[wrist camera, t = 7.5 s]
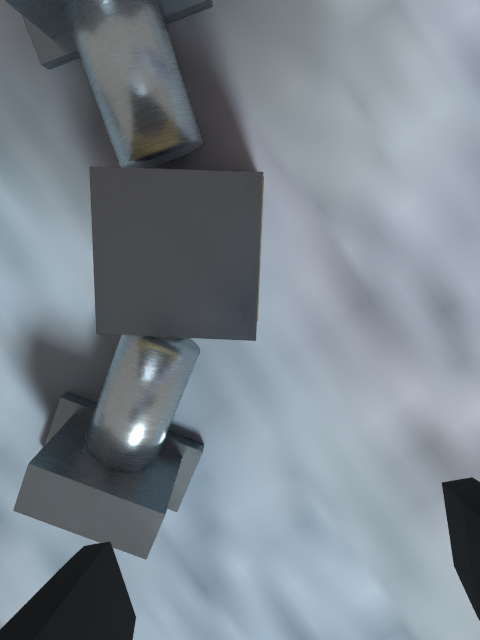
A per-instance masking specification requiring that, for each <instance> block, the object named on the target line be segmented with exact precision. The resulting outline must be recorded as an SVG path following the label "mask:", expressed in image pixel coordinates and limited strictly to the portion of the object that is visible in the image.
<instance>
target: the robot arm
mask: <svg viewBox="0 0 480 640" xmlns="http://www.w3.org/2000/svg"><path fill="white" fill-rule="evenodd" d="M442 487H443V494H444V501H445V508H446V515H447V521H448V528H449V535H450V542H451V549H452V555H453V562H454V567H455V569H456V571H457V574H458V576H459V578H460V580H461V582H462V585H463V587H464V589H465V591H466V593H467V596H468V598H469V600H470V602H471V604H472V606H473V608H474V610H475V612H476V615H477V617H478V619H479V620H480V482H479V481H477V480H476V479H474V478H472V477H471V478H466V479H460V480H454V481H449V482H443V483H442ZM135 620H136V616H135V613H134V610H133V607H132V604H131V601H130V598H129V595H128V592H127V589H126V586H125V583H124V580H123V577H122V574H121V571H120V568H119V565H118V562H117V559H116V557H115V554H114V551H113V548H112V545H111V542H104V543H99V544H93V545H87V546H84V547H83V548H82V549H81V550H79V551H78V552H77V553H76V554H75V555H74V556H73V557H72V558H71V559H70V560H69V561H68V562H67V563H66V564H65V565H64V566H63V567H62V568H61V569H60V570H59V571H58V572H57V573H56V574H55V575H54V576H53V577H52V578H51V579H50V580H49V581H48V582H47V583H46V584H45V585H44V586H43V587H42V588H41V589H40V590H39V591H38V592H37V593H36V594H35V595H34V596H33V597H32V598H31V599H30V600H29V601H28V602H27V603H26V604H25V605H24V606H23V607H22V608H21V609H20V610H19V611H18V612H17V613H16V614H15V615H14V616H13V617H12V618H11V619H10V620H9V621H8V622H7V623H6V624H5V625H4V626H3V627H2V628H1V629H0V640H132V639H133V633H134V627H135Z"/></svg>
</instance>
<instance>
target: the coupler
mask: <svg viewBox="0 0 480 640" xmlns="http://www.w3.org/2000/svg"><path fill="white" fill-rule="evenodd" d="M263 188H264V177H263V172H246V171H215V170H184V169H153V168H122V167H91V166H90V189H91V213H92V238H93V262H94V286H95V310H96V334H112V335H135V336H158V337H181V338H205V339H228V340H251V341H256V326H257V321H258V301H259V278H260V256H261V233H262V210H263Z"/></svg>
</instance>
